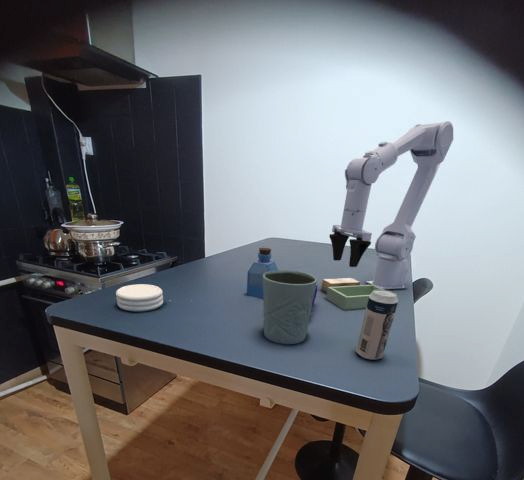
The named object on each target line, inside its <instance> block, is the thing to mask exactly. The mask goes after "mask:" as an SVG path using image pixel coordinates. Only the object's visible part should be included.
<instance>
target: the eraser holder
mask: <svg viewBox="0 0 524 480" xmlns="http://www.w3.org/2000/svg"><path fill="white" fill-rule="evenodd" d="M377 289H378V290H384V289H381V288H379V287H377V286H375V285H371V284H360V285H357V286H339V287H328V290H327V294H326V297H325V299H326V300H327V301H329V302H331V303H332V304H334V305H336V306H337V307H339V308H340V309H342V310H343V311H346V310H357V309H359V310H360V309H366V307H367V303H368V299H369V295H370V294H371V293H372V292H373V290H377Z"/></svg>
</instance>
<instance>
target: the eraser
mask: <svg viewBox="0 0 524 480" xmlns="http://www.w3.org/2000/svg"><path fill="white" fill-rule="evenodd" d="M357 285H361V281H359V280H356V279H355V278H352V277H345V278H344V277H343V278H323V279H322V282H321V288H320V291H321V292H323V293H324V294H326V295H327V290H328V287H339V286H357Z"/></svg>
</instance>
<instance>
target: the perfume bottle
mask: <svg viewBox="0 0 524 480" xmlns="http://www.w3.org/2000/svg"><path fill="white" fill-rule="evenodd" d="M258 251H259V252H258V253H257V258H258V260H256V261H253V263H252V264H251V266H250V267H249V269H248V271H247V278H246V295H247V296H251V297H256V298H260V299H263V296H264V292H263V274H264V273H266V272H269V271H276V270H279V268H278V267H277V265H276V263H275V261H271V259H272V253H271V252H272V248H269V247H259V248H258Z"/></svg>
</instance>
